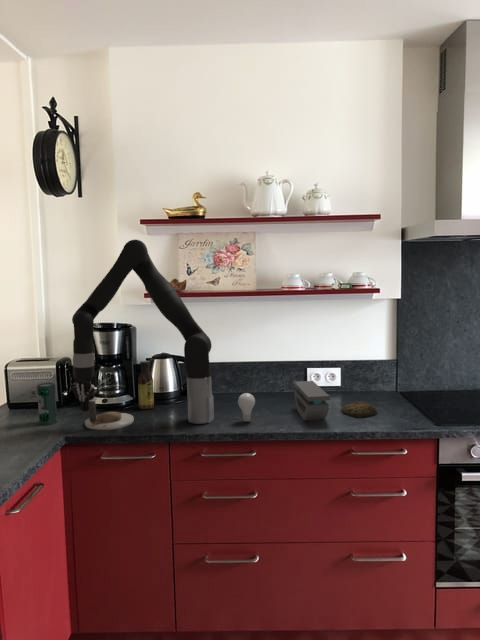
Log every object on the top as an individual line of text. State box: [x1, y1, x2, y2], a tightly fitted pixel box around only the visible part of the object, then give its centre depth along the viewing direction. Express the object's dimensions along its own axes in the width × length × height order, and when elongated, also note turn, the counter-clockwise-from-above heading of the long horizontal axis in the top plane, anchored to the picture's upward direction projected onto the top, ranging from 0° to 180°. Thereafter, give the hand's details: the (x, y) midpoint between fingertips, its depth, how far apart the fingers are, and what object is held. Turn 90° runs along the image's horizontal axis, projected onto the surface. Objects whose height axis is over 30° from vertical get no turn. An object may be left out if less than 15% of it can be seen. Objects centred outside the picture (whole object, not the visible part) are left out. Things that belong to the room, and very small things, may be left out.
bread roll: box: [341, 400, 378, 419], centre depth 196 cm, size 13×12×5 cm
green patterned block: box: [36, 382, 58, 426], centre depth 193 cm, size 6×6×15 cm
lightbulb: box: [237, 392, 256, 423], centre depth 188 cm, size 6×6×11 cm
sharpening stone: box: [293, 380, 331, 422], centre depth 193 cm, size 25×8×11 cm, turn 6°
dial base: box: [84, 412, 135, 431], centre depth 191 cm, size 18×18×2 cm
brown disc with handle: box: [88, 400, 122, 424], centre depth 189 cm, size 14×9×8 cm, turn 147°
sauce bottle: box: [137, 360, 155, 410], centre depth 210 cm, size 7×6×20 cm
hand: (84, 410), depth 186 cm, fingers closed
